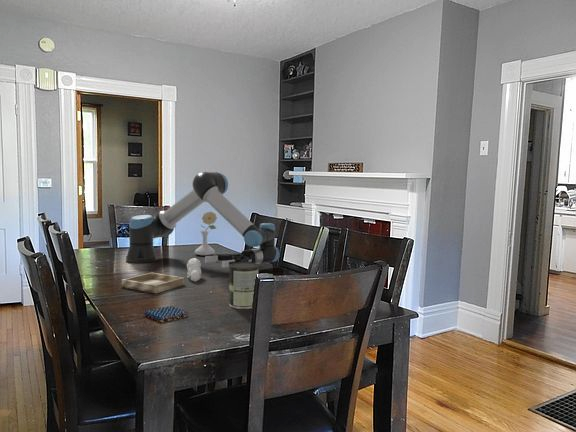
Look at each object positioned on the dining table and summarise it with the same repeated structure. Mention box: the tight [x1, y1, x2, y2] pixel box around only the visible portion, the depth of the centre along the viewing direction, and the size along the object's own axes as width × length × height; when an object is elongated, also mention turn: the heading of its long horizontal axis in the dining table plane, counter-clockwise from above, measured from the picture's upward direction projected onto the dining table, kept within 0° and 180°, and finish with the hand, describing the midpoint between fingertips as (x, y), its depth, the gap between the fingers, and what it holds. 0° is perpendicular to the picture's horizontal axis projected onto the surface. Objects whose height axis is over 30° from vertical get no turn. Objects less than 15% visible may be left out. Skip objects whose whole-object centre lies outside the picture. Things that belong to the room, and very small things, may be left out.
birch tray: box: [121, 272, 185, 294], centre depth 174 cm, size 18×16×3 cm
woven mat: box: [143, 305, 189, 323], centre depth 137 cm, size 10×11×2 cm
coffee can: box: [228, 262, 260, 310], centre depth 151 cm, size 10×10×14 cm
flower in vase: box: [194, 211, 218, 257], centre depth 246 cm, size 13×11×25 cm
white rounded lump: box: [186, 257, 202, 283], centre depth 187 cm, size 6×8×12 cm
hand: (213, 262), depth 194 cm, fingers open, 13 cm apart
